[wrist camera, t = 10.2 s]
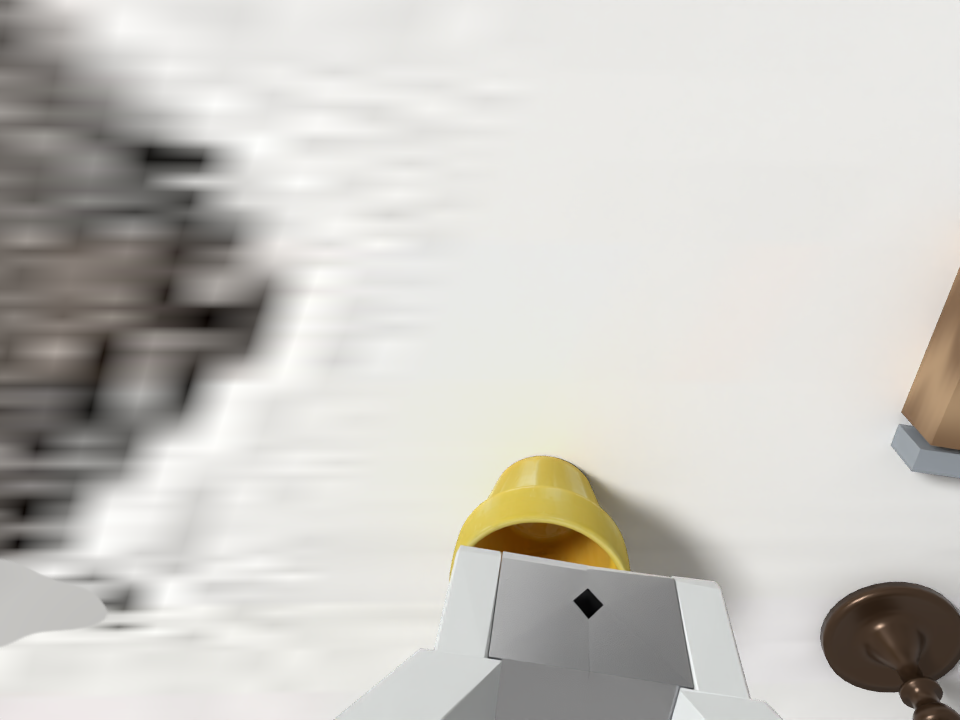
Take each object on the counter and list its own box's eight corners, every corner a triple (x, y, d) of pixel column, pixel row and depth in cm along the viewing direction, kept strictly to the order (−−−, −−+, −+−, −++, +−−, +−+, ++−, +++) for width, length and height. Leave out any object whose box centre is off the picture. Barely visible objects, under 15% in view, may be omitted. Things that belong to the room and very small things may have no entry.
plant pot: (652, 472, 47) (669, 570, 38) (576, 579, 52) (576, 690, 43) (511, 403, 47) (496, 487, 38) (446, 518, 51) (418, 617, 42)
